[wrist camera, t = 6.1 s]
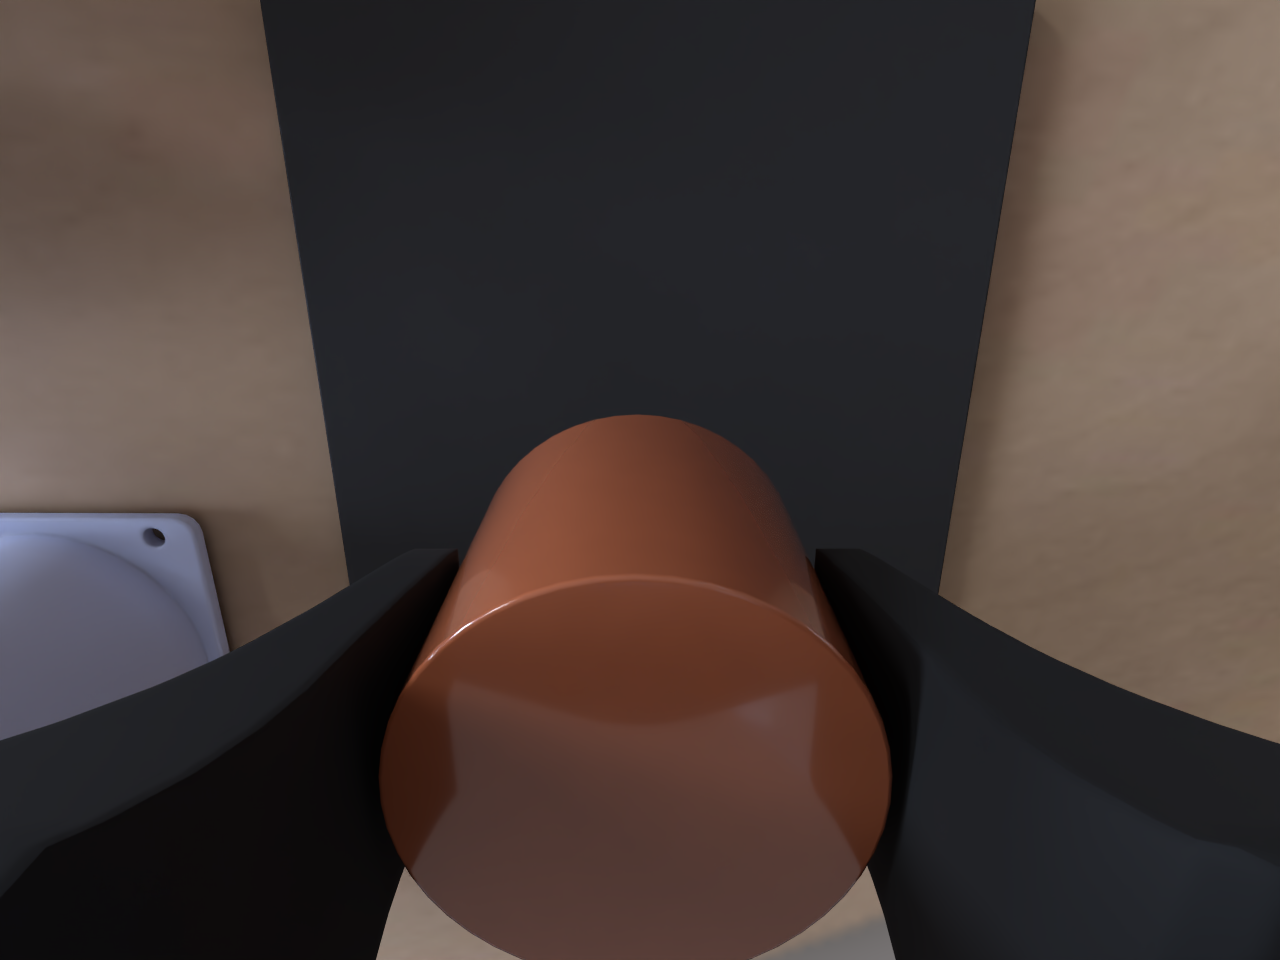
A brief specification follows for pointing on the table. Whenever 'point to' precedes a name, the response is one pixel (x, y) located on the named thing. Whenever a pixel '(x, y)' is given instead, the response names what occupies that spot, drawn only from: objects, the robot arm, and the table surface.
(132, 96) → the table surface
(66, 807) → the robot arm
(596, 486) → the copper cylinder
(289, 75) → the mat
